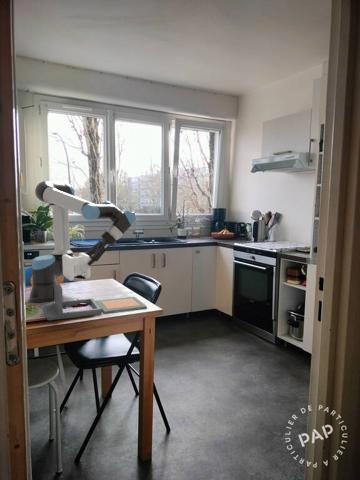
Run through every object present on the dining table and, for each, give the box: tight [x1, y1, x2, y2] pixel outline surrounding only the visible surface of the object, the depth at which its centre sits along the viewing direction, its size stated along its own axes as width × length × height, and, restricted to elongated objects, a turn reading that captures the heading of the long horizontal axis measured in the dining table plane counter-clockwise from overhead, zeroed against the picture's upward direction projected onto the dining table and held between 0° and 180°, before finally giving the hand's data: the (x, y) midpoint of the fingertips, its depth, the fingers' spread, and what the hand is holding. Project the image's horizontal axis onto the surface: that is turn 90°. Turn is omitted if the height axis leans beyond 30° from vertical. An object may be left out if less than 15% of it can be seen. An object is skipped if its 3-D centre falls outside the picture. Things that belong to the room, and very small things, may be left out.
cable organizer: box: [62, 252, 92, 282], centre depth 168 cm, size 15×11×12 cm
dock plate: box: [95, 296, 148, 314], centre depth 180 cm, size 20×22×1 cm
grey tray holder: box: [43, 279, 103, 321], centre depth 169 cm, size 20×24×14 cm
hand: (80, 267), depth 169 cm, fingers closed on cable organizer, 11 cm apart
